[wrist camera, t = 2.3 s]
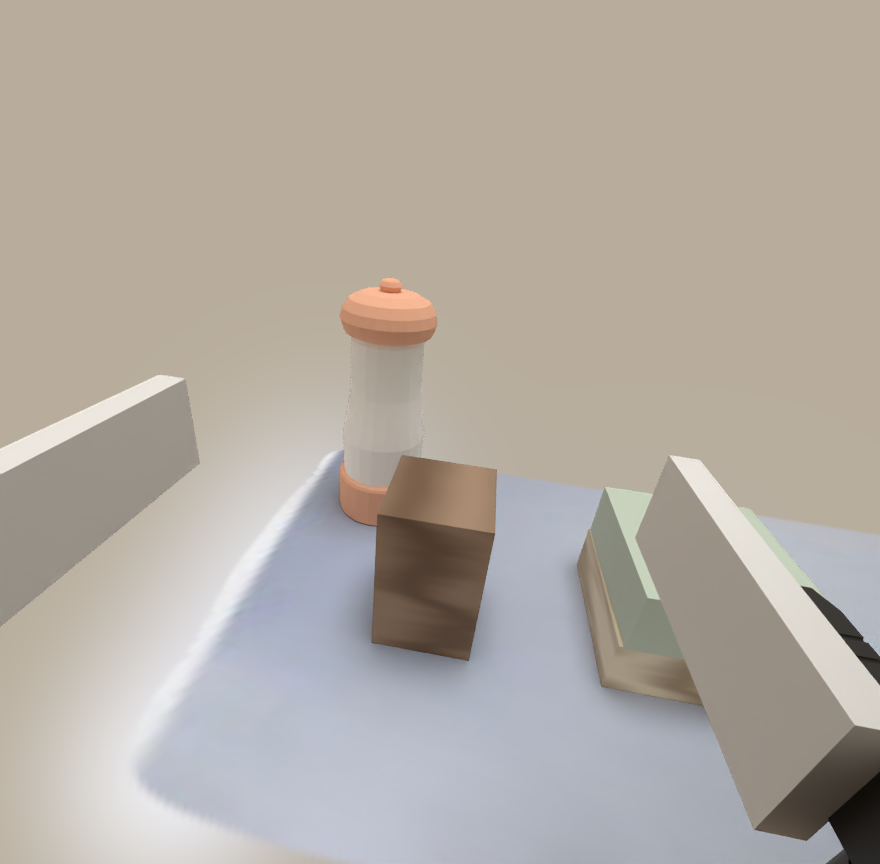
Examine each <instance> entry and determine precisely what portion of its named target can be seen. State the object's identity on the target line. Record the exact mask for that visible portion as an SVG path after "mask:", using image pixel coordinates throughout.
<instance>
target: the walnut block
mask: <svg viewBox="0 0 880 864" xmlns="http://www.w3.org/2000/svg"><path fill="white" fill-rule="evenodd" d="M496 480H497V470H495V469H489V468H482V467H476V466H470V465H463V464H456V463H451V462H444V461H438V460H431V459H425V458H419V457H412V456H406V455H402V456H401V458H400V461H399V463H398V465H397V468H396V470H395V473H394V475H393V477H392V480H391V482H390V485H389V487H388V489H387V492H386V494H385V497H384V499H383V501H382V504H381V506H380V509H379V511H378V513H377V533H376V556H375V580H374V603H373V626H372V643H376V644H382V645H387V646H392V647H398V648H403V649H409V650H414V651H419V652H425V653H430V654H435V655H441V656H446V657H451V658H457V659H462V660H467V661H469V656H470V651H471V647H472V642H473V637H474V632H475V627H476V623H477V618H478V613H479V608H480V603H481V599H482V594H483V589H484V584H485V579H486V575H487V570H488V565H489V560H490V555H491V551H492V546H493V541H494V536H495V518H496Z"/></svg>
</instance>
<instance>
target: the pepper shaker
mask: <svg viewBox="0 0 880 864" xmlns="http://www.w3.org/2000/svg"><path fill="white" fill-rule="evenodd" d="M379 286H380V287H371V288H365V289H363V290H360V291H357V292H355V293H352V294H351V295H349V296H348V298H347V299H346V301H345V302H344V304H343V305H342V309H341V312H340V318H341V321H342V325H343V327H344V329H345V331H346V333H347V334H348V335H350V336H351V389H350V395H349V401H348V406H347V413H346V418H345V424H344V429H343V439H344V460H343V462H342V464H341V467H340V503H341V508H342V509H343V511H344V512H345V513H346V515H347V516H349V517H351V518H352V519H354V520H355V521H357V522H360V523H364V524H367V525H374V526H377V513H378V511H379V509H380V506H381V504H382V501H383V499H384V497H385V494H386V492H387V489H388V487H389V485H390V482H391V480H392V477H393V475H394V473H395V470H396V468H397V465H398V463H399V461H400V458H401V456H402V455H406V456H412V457H419V458H421V453H422V445H423V437H424V426H423V414H422V401H421V381H422V367H423V355H424V343H425V342H426V341H427V340H429V339H430V338H431V337H432V335H433V334H434V332H435V329H436V327H437V317H436V312H435V310H434V308H433V306H432V304H431V302H430V301H428V300H427V299H425V298H424V297H422V296H420V295H419V294H417V293H415V292H412V291H408V290H404V289H402V284H401V282H400V281H399V280H397V279H395V278H385V279H383V280H382V281H381V282H380V284H379Z"/></svg>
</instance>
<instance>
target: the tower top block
mask: <svg viewBox="0 0 880 864" xmlns="http://www.w3.org/2000/svg"><path fill="white" fill-rule="evenodd" d="M652 495H653V494H650V493H643V492H637V491H630V490H623V489H617V488H610V487H605V488H604V491H603V494H602V497H601V500H600V503H599V506H598V509H597V512H596V515H595V518H594V521H593V524H592V527H591V530H590V531H591V535H592V538H593V542H594V545H595V549H596V552H597V556H598V559H599V563H600V566H601V570H602V573H603V577H604V580H605V584H606V587H607V591H608V594H609V598H610V601H611V605H612V609H613V612H614V616H615V619H616V623H617V626H618V630H619V633H620V637H621V640H622V644H623V647H624V649H626V650H632V651H638V652H644V653H649V654H655V655H661V656H667V657H672V658H678V659H684V657H683V654H682V652H681V649H680V647H679V644H678V642H677V640H676V637H675V635H674V632H673V630H672V627H671V625H670V622H669V620H668V617H667V615H666V613H665V610H664V608H663V605H662V603H661V600H660V598H659V595H658V593H657V590H656V588H655V586H654V583H653V581H652V578H651V576H650V573H649V571H648V568H647V566H646V563H645V561H644V559H643V556H642V554H641V551H640V549H639V546H638V544H637V541H636V539H635V536H636V534H637V532H638V529H639V527H640V524H641V522H642V519H643V517H644V515H645V512H646V510H647V507H648V505H649V502H650V500H651V498H652ZM738 509H739V510H740V511H741V512H742V514H743V515H744V516H745V517H746V519H747V520H748V521H749V522H750V524H751V525H752V526H753V527H754V529H755V530H756V531H757V532H758V534H759V535H760V536H761V537H762V539H763V540H764V541H765V542H766V544H767V545H768V546H769V547H770V549H771V550H772V551H773V552H774V554H775V555H776V556H777V557H778V559H779V560H780V561H781V562H782V564H783V565H784V566H785V567H786V569H787V570H788V571H789V573H790V574H791V575H792V576H793V578H794V579H795V580H796V581H797V583H798V584H799V585H800V586H804V587H810V588H812V589H814V590H815V591H816V592H817V593H819V594H820V595H821V596H822V597H824V596H823V595H822V594H821V592H820V591H819V590H818V589H817V588H816V586H815V585H814V584H813V583H812V582H811V580H810V579H809V578H808V577H807V576H806V575H805V573H804V572H803V571H802V570H801V569H800V567H799V566H798V565H797V564H796V563H795V561H794V560H793V559H792V558H791V557H790V555H789V554H788V553H787V552H786V551H785V550H784V548H783V547H782V546H781V545H780V544H779V542H778V541H777V540H776V539H775V538H774V536H773V535H772V534H771V533H770V532H769V531H768V529H767V528H766V527H765V526H764V525H763V523H762V522H761V521H760V520H759V519H758V517H757V516H756V515H755V514H754V513H753V512H752V510H751V509H749V508H743V507H738ZM824 598H825V597H824ZM825 599H826V598H825ZM826 600H827V599H826ZM684 660H685V659H684Z"/></svg>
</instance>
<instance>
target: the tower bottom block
mask: <svg viewBox="0 0 880 864" xmlns="http://www.w3.org/2000/svg"><path fill="white" fill-rule="evenodd" d="M590 530H591V529H589V530H588V533H587V536H586V539H585V542H584V545H583V548H582V551H581V554H580V557H579V560H578V563H577V567H578V572H579V577H580V582H581V587H582V592H583V597H584V602H585V607H586V612H587V617H588V622H589V627H590V632H591V637H592V642H593V647H594V652H595V657H596V662H597V667H598V672H599V677H600V682H601V686H603V687H608V688H613V689H618V690H624V691H629V692H634V693H639V694H644V695H650V696H655V697H660V698H665V699H670V700H676V701H681V702H686V703H691V704H696V705H702V706H703V703H702V701H701V699H700V696H699V694H698V691H697V689H696V686H695V684H694V681H693V679H692V676H691V674H690V672H689V669H688V667H687V664H686V662H685V660H684V659H678V658H672V657H667V656H661V655H655V654H649V653H644V652H638V651H632V650H626V649H624V647H623V644H622V640H621V637H620V633H619V630H618V626H617V623H616V619H615V616H614V612H613V609H612V605H611V601H610V598H609V594H608V591H607V587H606V584H605V580H604V577H603V573H602V570H601V566H600V563H599V559H598V556H597V552H596V549H595V545H594V542H593V538H592V535H591V531H590Z"/></svg>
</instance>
